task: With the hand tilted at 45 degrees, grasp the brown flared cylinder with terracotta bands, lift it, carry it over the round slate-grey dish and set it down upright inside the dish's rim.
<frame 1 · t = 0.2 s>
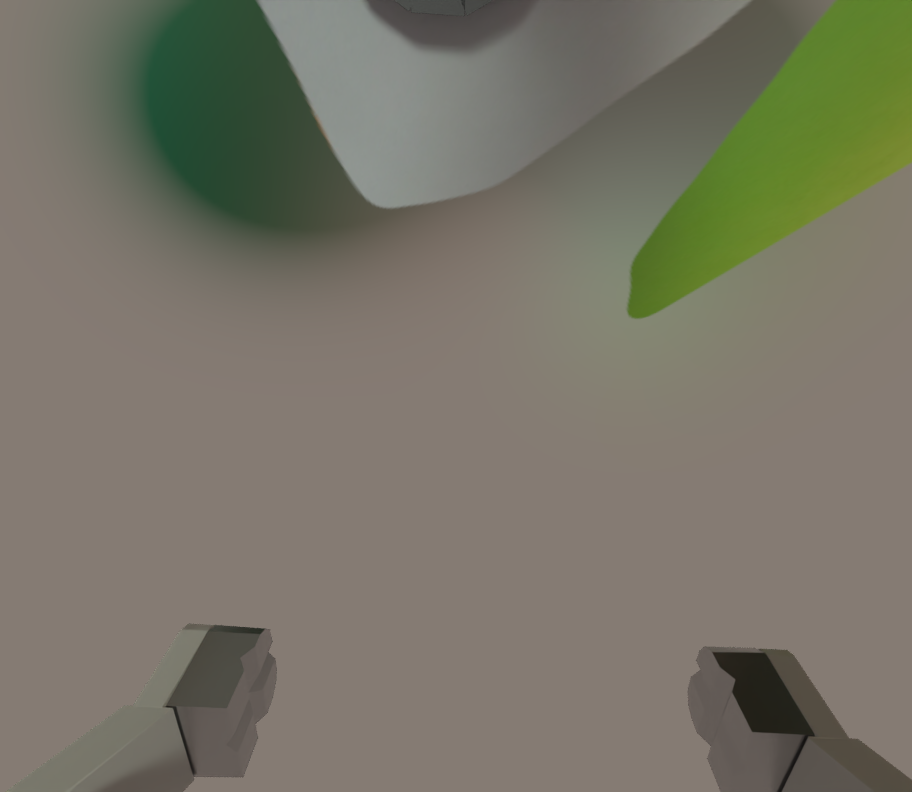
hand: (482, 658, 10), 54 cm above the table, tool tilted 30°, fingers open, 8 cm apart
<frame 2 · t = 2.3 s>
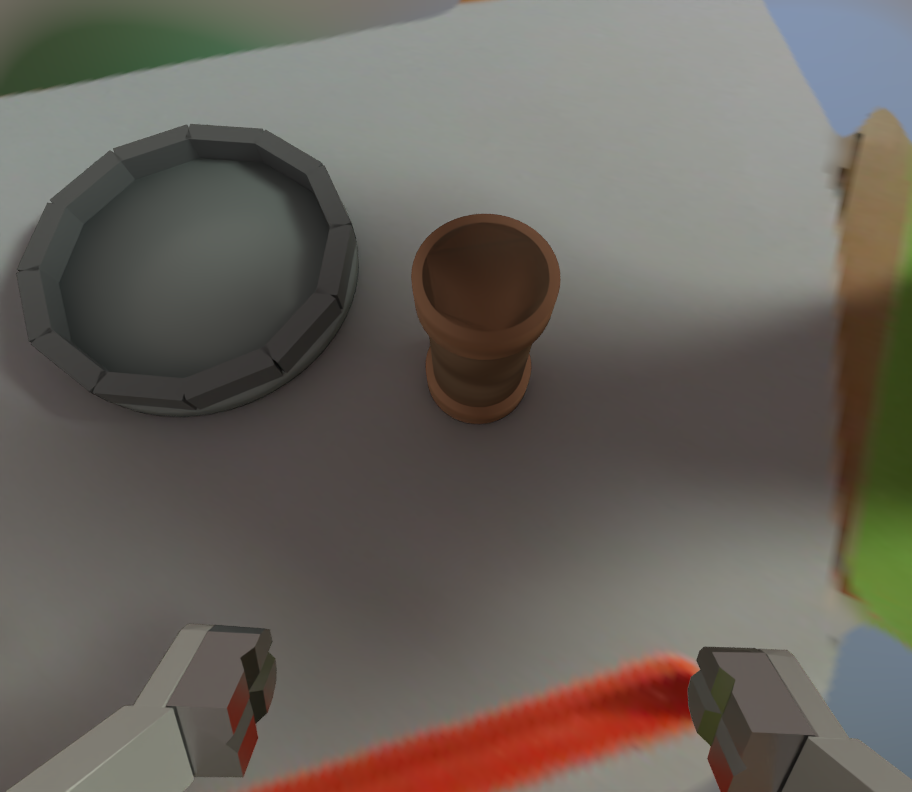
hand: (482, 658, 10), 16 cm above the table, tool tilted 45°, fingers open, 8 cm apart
round dish: (207, 272, 31), on the table
brown flared cylinder: (477, 376, 29), on the table
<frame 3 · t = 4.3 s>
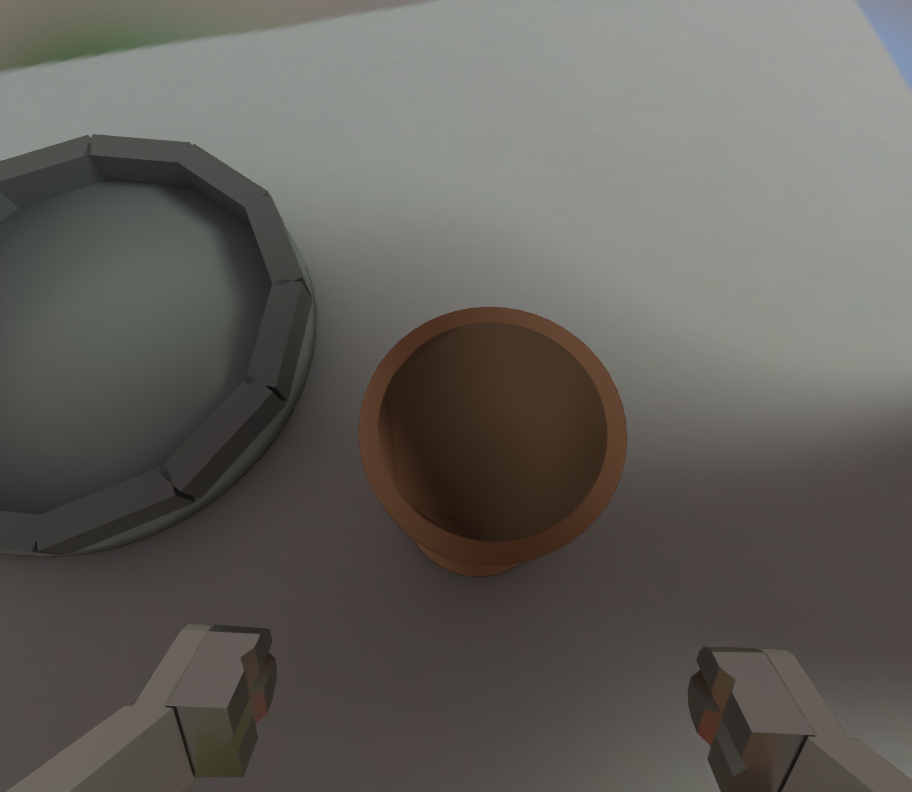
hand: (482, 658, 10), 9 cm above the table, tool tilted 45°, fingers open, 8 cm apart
round dish: (107, 338, 23), on the table
brown flared cylinder: (476, 501, 20), on the table
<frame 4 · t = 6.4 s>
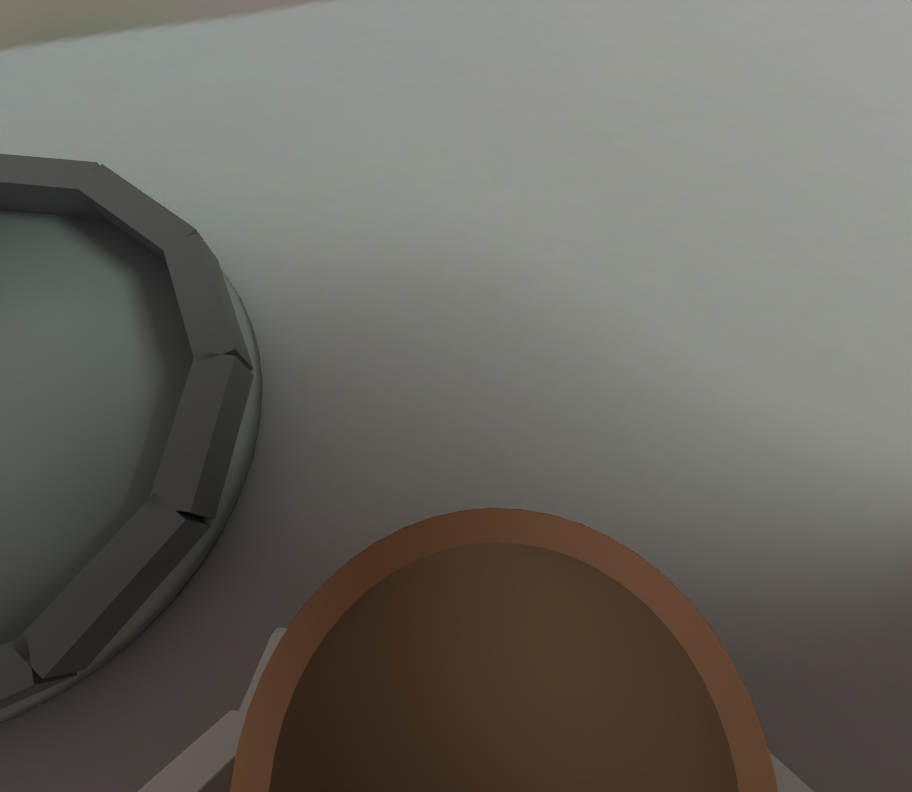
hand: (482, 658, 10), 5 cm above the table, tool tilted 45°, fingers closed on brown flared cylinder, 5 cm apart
brown flared cylinder: (472, 660, 15), on the table, touching gripper
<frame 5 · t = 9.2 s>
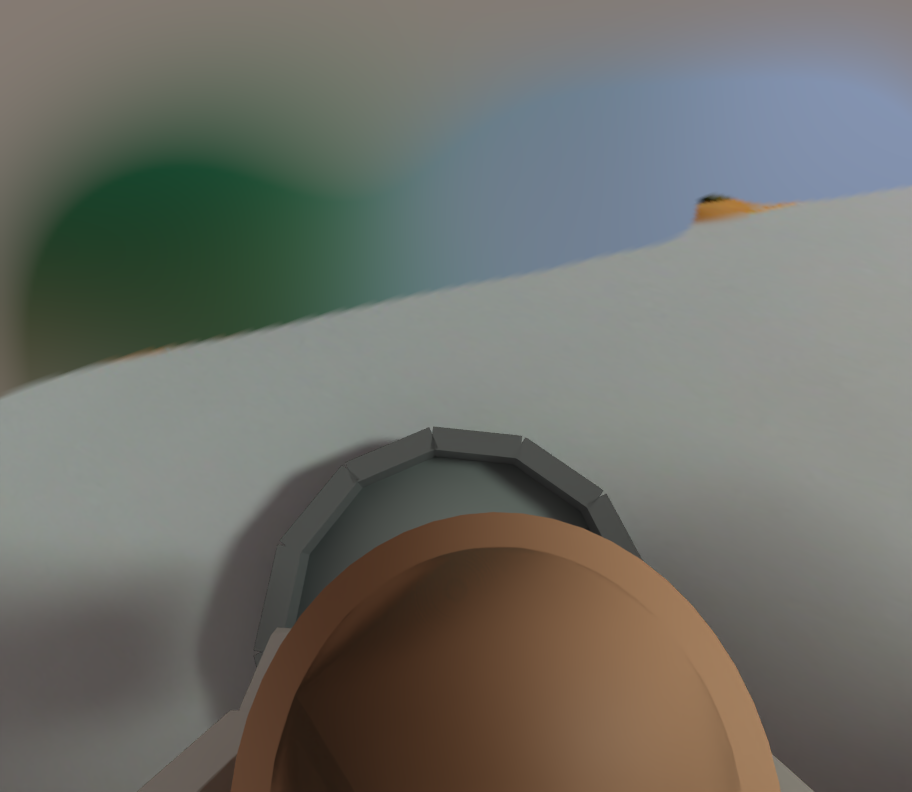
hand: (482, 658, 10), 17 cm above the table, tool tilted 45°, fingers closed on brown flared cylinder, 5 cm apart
round dish: (458, 616, 26), on the table
brown flared cylinder: (473, 662, 15), point 12 cm above the table, touching gripper
when the fingers open (8 cm above the table, at t = 11.8 s): brown flared cylinder drops 1 cm, resting on round dish.
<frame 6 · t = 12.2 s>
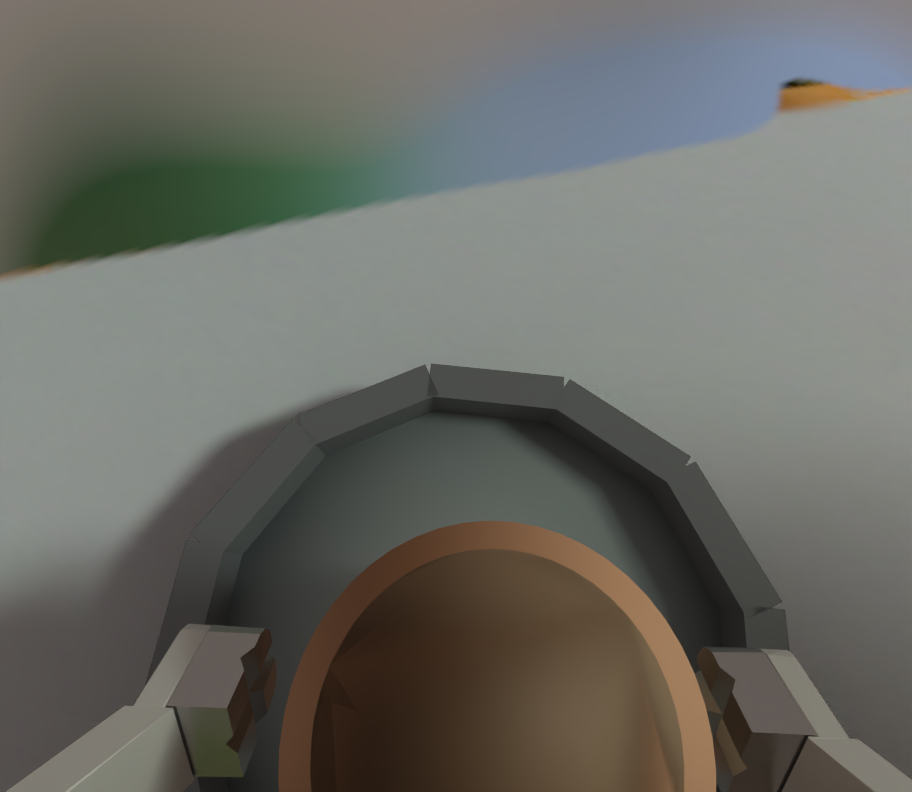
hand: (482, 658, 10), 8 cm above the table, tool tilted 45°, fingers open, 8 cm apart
round dish: (469, 649, 17), on the table
brown flared cylinder: (472, 652, 16), point 1 cm above the table, touching round dish
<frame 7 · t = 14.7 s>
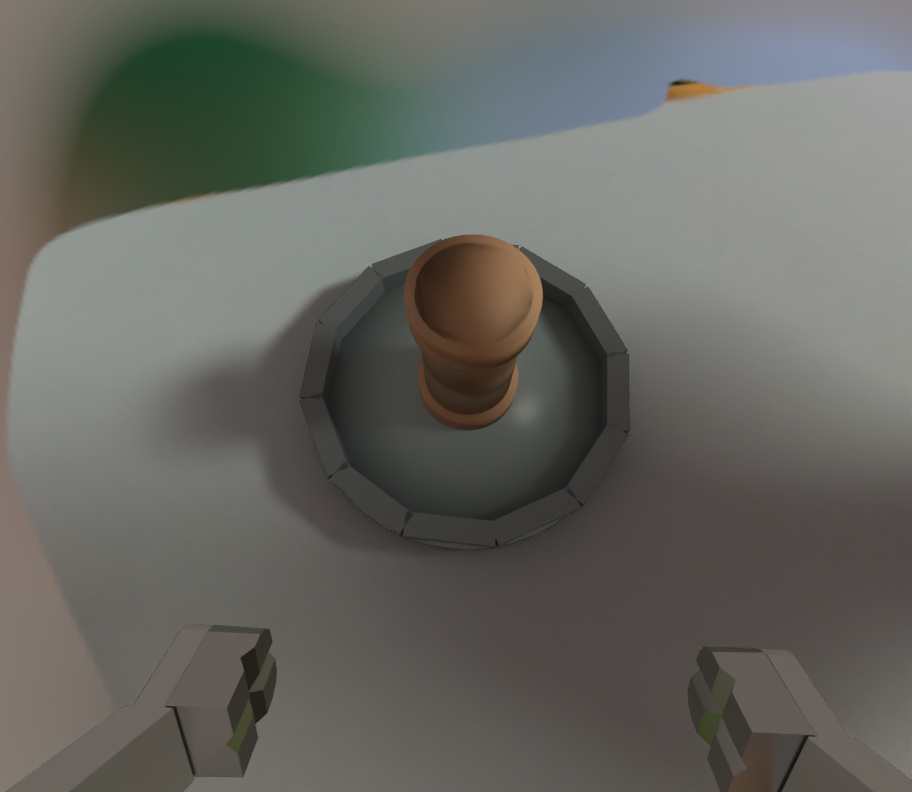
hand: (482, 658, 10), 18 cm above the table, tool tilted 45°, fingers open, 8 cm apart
round dish: (465, 391, 31), on the table
brown flared cylinder: (467, 384, 30), point 1 cm above the table, touching round dish
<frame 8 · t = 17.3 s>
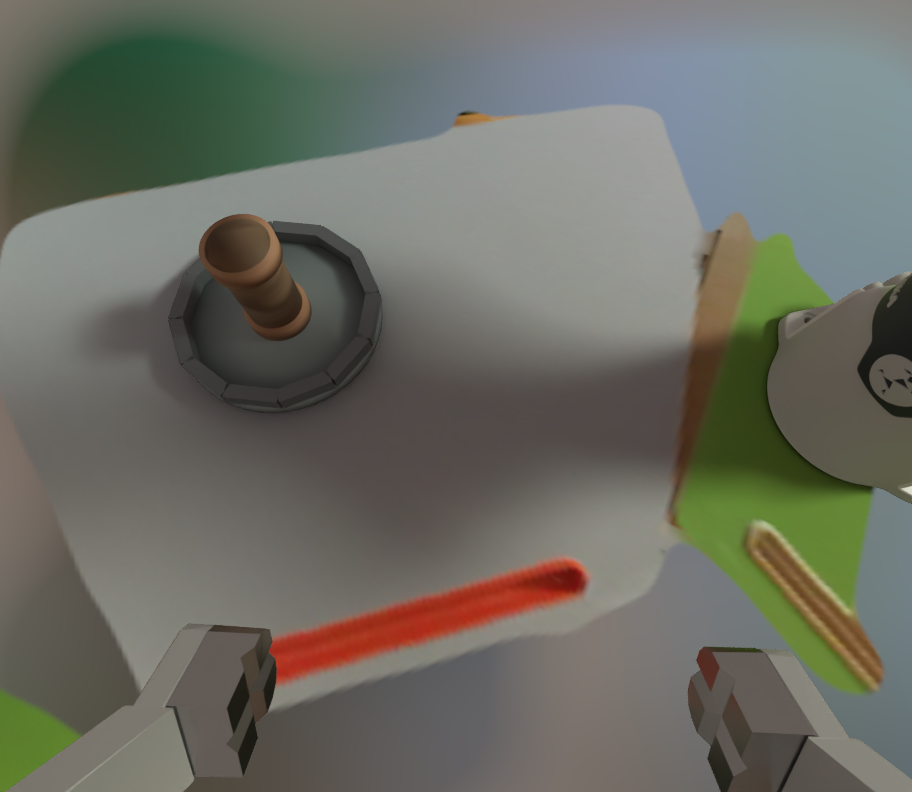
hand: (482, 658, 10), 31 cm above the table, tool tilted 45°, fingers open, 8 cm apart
round dish: (283, 319, 48), on the table
brown flared cylinder: (280, 313, 47), point 1 cm above the table, touching round dish
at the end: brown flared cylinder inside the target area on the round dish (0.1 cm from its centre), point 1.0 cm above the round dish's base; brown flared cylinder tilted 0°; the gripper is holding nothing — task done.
